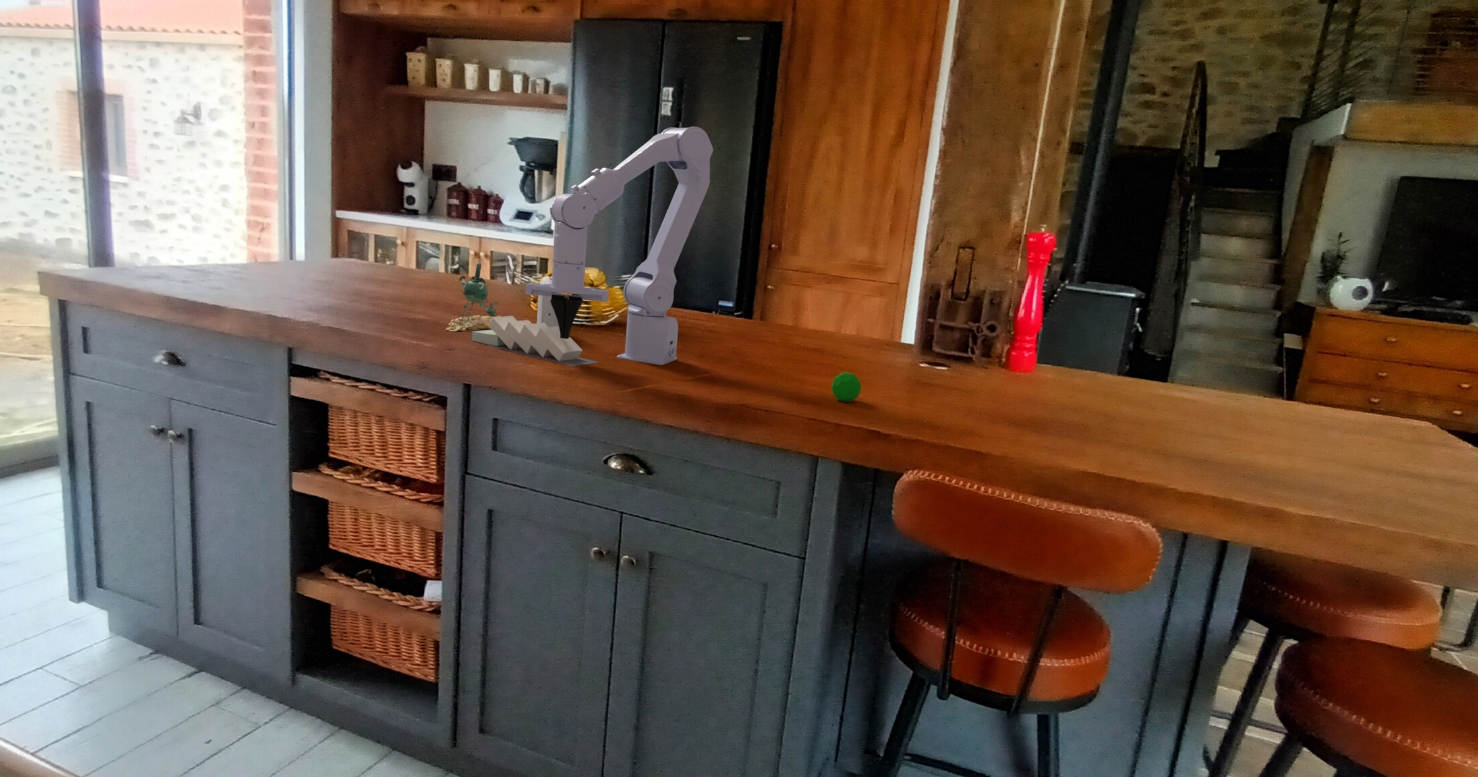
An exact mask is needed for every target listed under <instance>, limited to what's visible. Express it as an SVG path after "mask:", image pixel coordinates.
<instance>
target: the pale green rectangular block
mask: <svg viewBox="0 0 1478 777" xmlns="http://www.w3.org/2000/svg"><path fill="white" fill-rule="evenodd" d="M471 333H472V336H471V337H472V338H471V339H472V341H473V342H477V343H482V344H485V345H495V346H501V345H506V344H505V343H504V342H503V341H502V340H501V339H500V338H499V337H498V335H497V334H496V333H495V332H494V331H493V330H492V329H483V330H474V331H471Z"/></svg>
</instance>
